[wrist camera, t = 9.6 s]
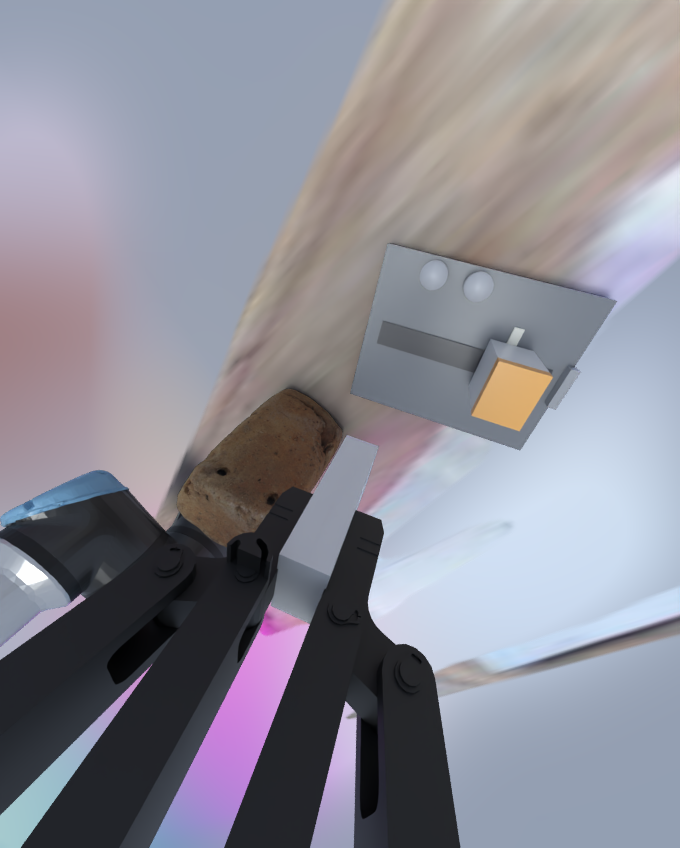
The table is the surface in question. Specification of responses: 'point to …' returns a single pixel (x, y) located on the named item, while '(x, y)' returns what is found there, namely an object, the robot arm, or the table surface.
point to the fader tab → (507, 384)
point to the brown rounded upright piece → (259, 466)
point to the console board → (466, 337)
